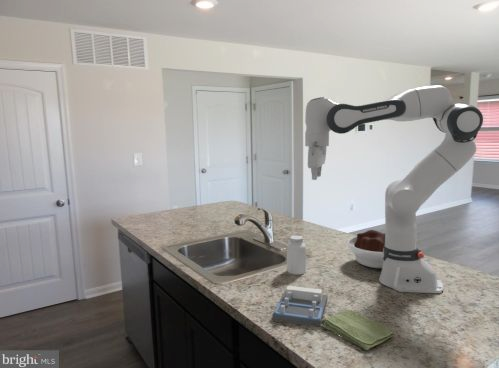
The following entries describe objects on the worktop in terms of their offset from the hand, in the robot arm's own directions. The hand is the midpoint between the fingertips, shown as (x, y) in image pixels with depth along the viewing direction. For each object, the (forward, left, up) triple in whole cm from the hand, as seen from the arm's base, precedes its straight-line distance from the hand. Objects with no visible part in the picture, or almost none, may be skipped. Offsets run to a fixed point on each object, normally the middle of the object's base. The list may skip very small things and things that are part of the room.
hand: (316, 177), depth 142 cm
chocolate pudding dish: (-23, -24, -41) cm, 53 cm away
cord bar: (+1, +21, -39) cm, 44 cm away
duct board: (+1, +26, -41) cm, 49 cm away
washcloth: (-17, +35, -42) cm, 57 cm away
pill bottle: (+9, -6, -41) cm, 42 cm away
